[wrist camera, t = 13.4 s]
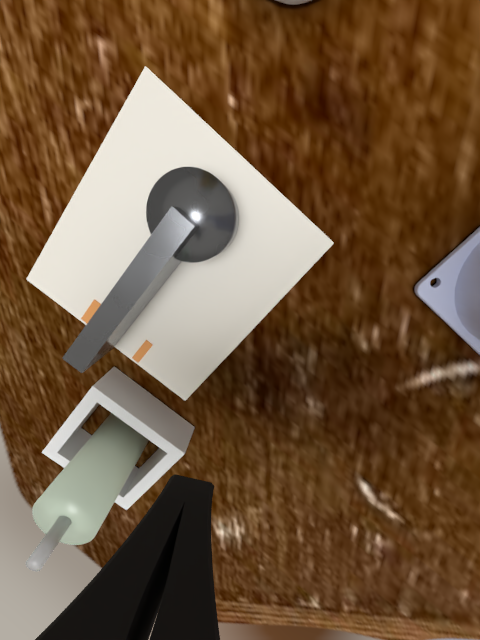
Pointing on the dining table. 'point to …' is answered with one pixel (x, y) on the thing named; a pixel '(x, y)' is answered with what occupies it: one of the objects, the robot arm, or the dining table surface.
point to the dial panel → (188, 278)
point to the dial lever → (161, 254)
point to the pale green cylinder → (86, 488)
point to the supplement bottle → (293, 1)
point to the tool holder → (138, 414)
